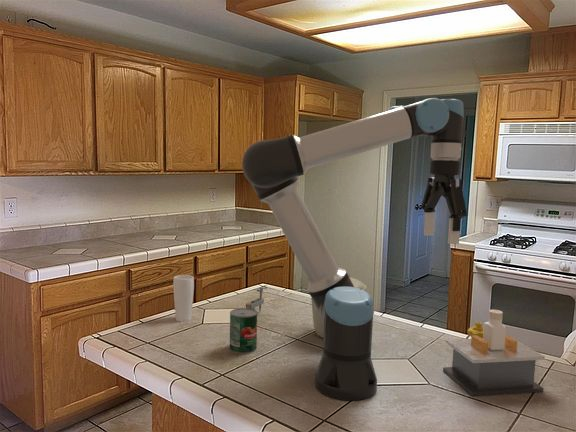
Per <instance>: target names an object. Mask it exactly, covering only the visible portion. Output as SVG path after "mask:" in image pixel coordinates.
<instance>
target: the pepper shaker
mask: <svg viewBox="0 0 576 432" xmlns="http://www.w3.org/2000/svg"><path fill="white" fill-rule="evenodd" d="M503 315H504V312H503V311H502V310H498V309H489V310H488V321H485V322H483V329H484V331H483V339H484V340H485V341H487V342H488V349H490V350H503V349H504V347H505V334H506V335H507V333H506V332H507V327H506V326H505V325H504V323H502V322H503Z"/></svg>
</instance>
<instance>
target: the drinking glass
mask: <svg viewBox="0 0 576 432" xmlns="http://www.w3.org/2000/svg"><path fill="white" fill-rule="evenodd" d="M172 281H173V282H172V286H173V287H172V288H173V300H174V312H175V313H174V315H175V321H177V322H181V323H185V322H189V321H191V320H192V313H193V312H192V311H193V304H194V301H193V299H194V294H195V293H194V291H195V277H194V275H190V274H179V275H175V276H173V280H172Z"/></svg>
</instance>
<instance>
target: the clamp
mask: <svg viewBox="0 0 576 432" xmlns="http://www.w3.org/2000/svg"><path fill="white" fill-rule="evenodd" d="M267 289H268V286H263V287H262V286H261V287H259V288H257V289H256V292H257V293H259V297H258V298H256V299H253V300H251V301H250V302H247V303H246V304H245V308H249V309H254V310H255V308H257V307H258V308H259V309H258V312H259V313H261V310H262V305H263V304H264V303H265V299H264V298H263V292H264V290H267Z"/></svg>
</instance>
